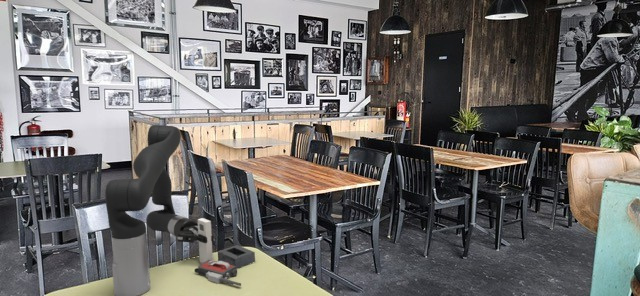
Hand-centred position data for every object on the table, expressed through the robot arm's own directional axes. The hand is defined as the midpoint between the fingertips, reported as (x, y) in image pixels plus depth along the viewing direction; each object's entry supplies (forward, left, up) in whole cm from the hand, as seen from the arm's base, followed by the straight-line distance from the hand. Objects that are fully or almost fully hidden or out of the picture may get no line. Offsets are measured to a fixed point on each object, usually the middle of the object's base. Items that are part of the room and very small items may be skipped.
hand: (209, 239), depth 144 cm
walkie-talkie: (+3, -10, -10) cm, 15 cm away
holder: (+9, +1, -9) cm, 12 cm away
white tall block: (-1, +2, -9) cm, 9 cm away
